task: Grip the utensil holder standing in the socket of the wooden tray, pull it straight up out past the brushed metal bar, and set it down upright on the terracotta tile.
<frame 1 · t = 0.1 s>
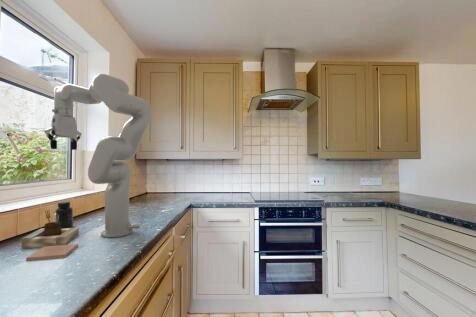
hand: (64, 149, 124), 37 cm above the worktop, tool pointing down, fingers open, 9 cm apart
terracotta tile: (53, 253, 89), on the worktop
supplement bottle: (64, 228, 123), on the worktop
wooden tray: (52, 240, 103), on the worktop
utensil holder: (52, 241, 103), resting in wooden tray
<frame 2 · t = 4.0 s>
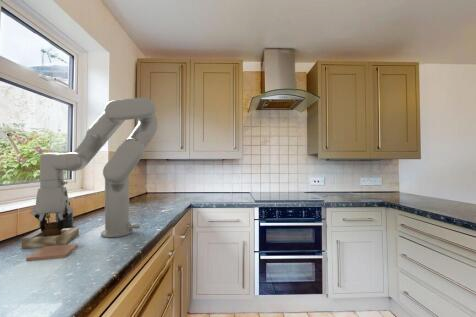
hand: (52, 229, 103), 4 cm above the worktop, tool pointing down, fingers closed on utensil holder, 5 cm apart
utensil holder: (52, 241, 103), resting in wooden tray, touching gripper
everything else where it was.
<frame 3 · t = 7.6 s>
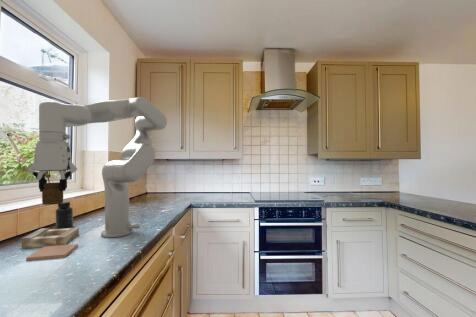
hand: (53, 190, 89), 21 cm above the worktop, tool pointing down, fingers closed on utensil holder, 5 cm apart
utensil holder: (52, 204, 89), point 17 cm above the worktop, touching gripper
everything else where it was.
when the fingers open (6 cm above the worktop, at t = 11.3 s): utensil holder stays where it is, resting on terracotta tile.
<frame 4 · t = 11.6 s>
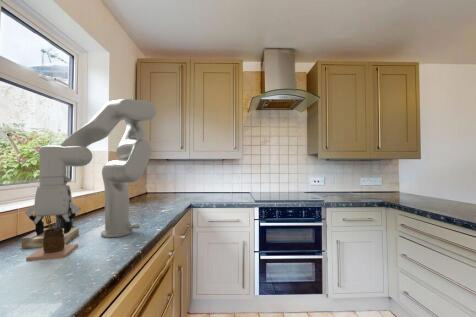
hand: (53, 233, 89), 7 cm above the worktop, tool pointing down, fingers open, 7 cm apart
utensil holder: (53, 250, 89), point 1 cm above the worktop, touching terracotta tile
everything else where it was.
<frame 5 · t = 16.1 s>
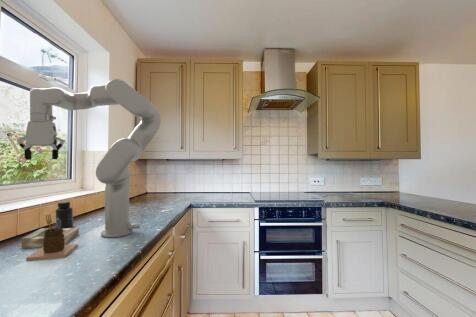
hand: (41, 159, 109), 32 cm above the worktop, tool pointing down, fingers open, 9 cm apart
nothing on the worktop moved.
at the end: utensil holder inside the target area on the terracotta tile (0.1 cm from its centre), point 0.8 cm above the terracotta tile's base; utensil holder tilted 0°; the gripper is holding nothing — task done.
